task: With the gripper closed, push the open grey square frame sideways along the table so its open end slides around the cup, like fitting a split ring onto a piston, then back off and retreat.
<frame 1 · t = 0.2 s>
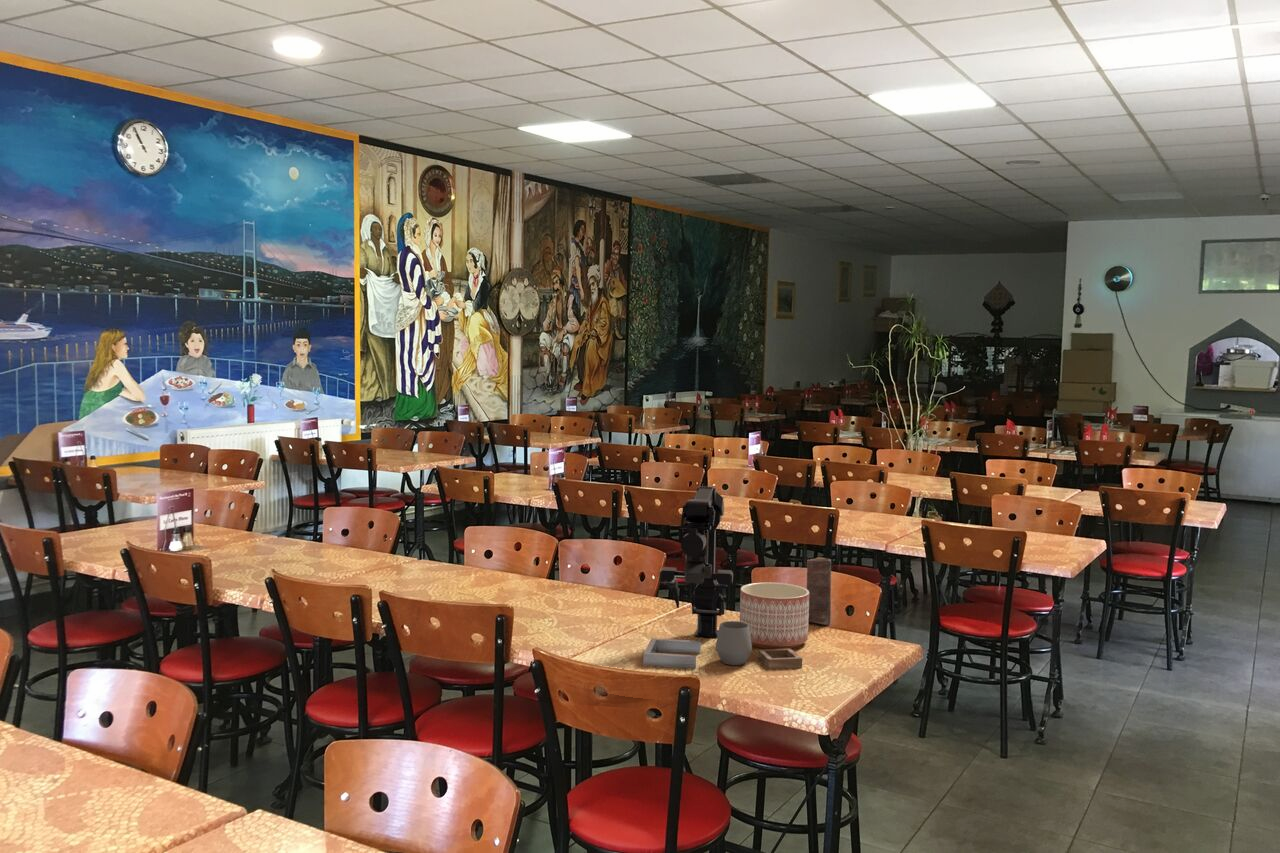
hand: (695, 608, 257), 14 cm above the table, fingers open, 9 cm apart
grey square frame: (672, 658, 262), on the table
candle: (817, 623, 301), on the table
planter: (773, 642, 280), on the table
walnut ring: (779, 663, 260), on the table
cup: (733, 663, 260), on the table
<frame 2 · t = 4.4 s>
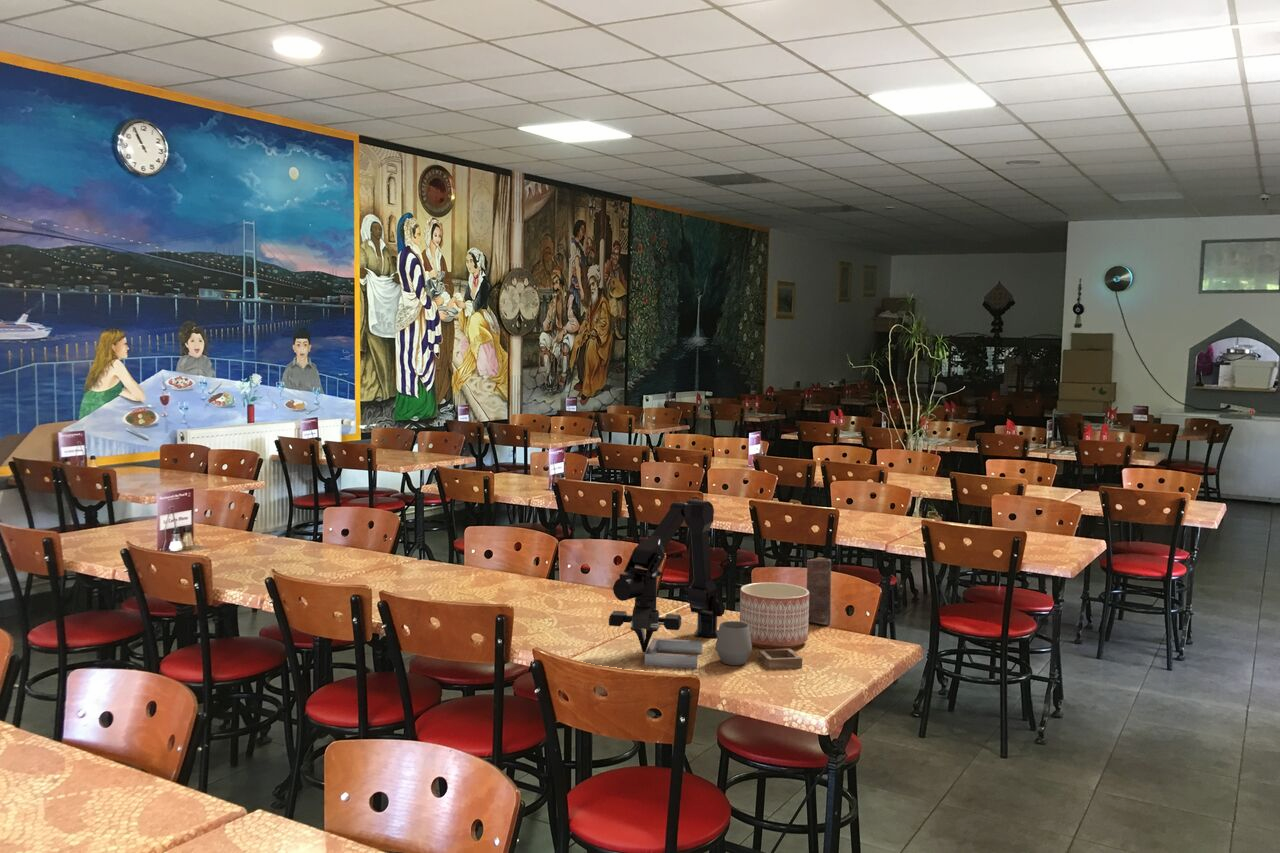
hand: (644, 652, 264), 1 cm above the table, fingers closed
grey square frame: (674, 658, 262), on the table, touching gripper
everything else where it was.
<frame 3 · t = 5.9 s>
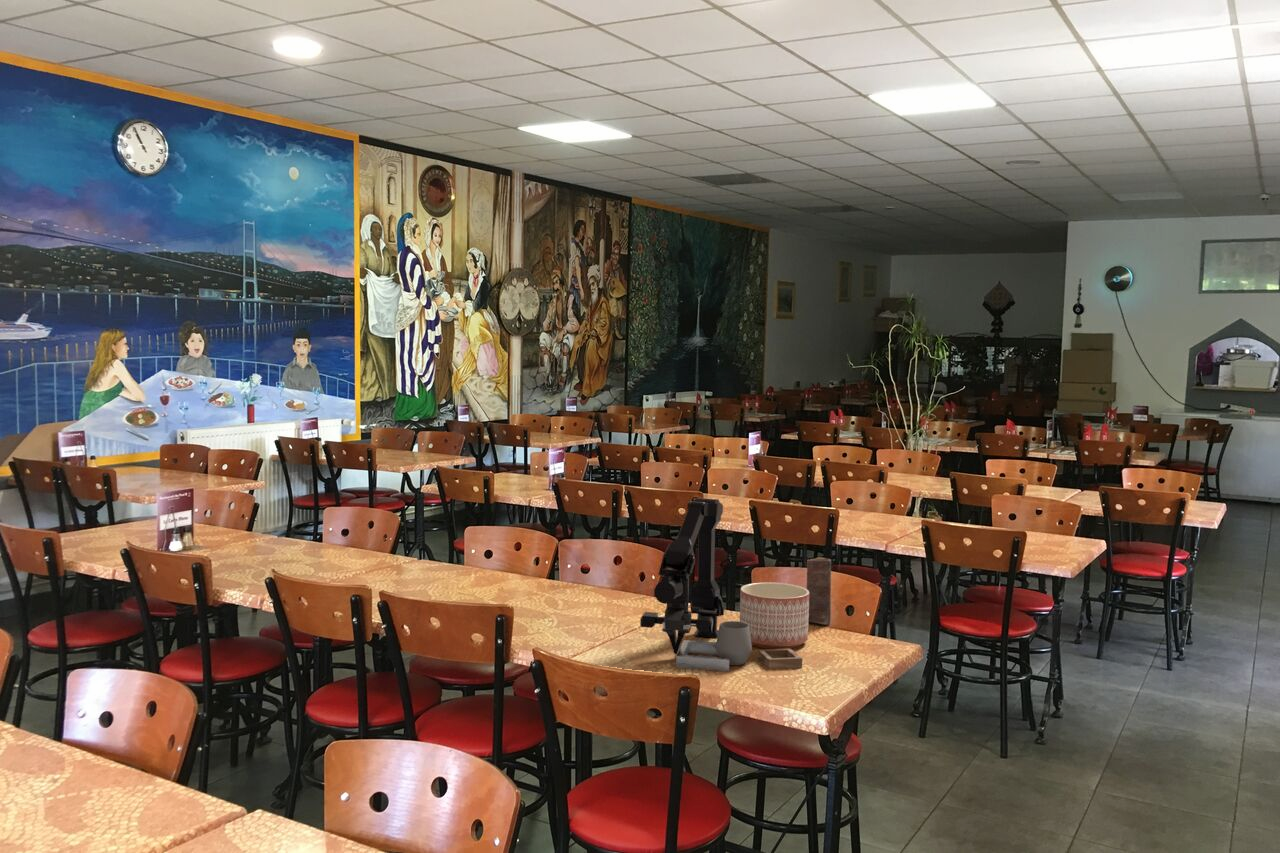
hand: (675, 653, 262), 1 cm above the table, fingers closed
grey square frame: (705, 660, 261), on the table, touching gripper
everything else where it was.
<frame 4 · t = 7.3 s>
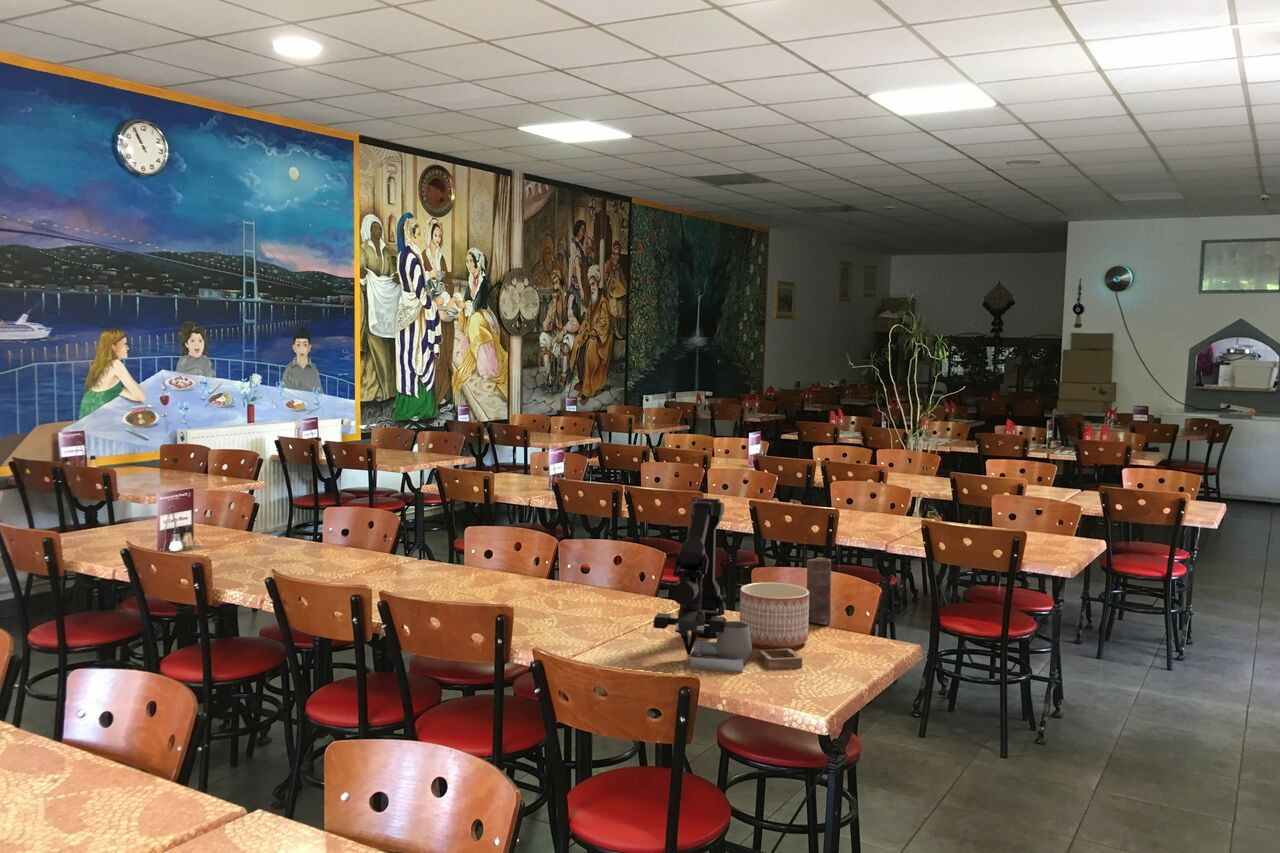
hand: (689, 654, 262), 1 cm above the table, fingers closed
grey square frame: (718, 661, 260), on the table, touching gripper
everything else where it was.
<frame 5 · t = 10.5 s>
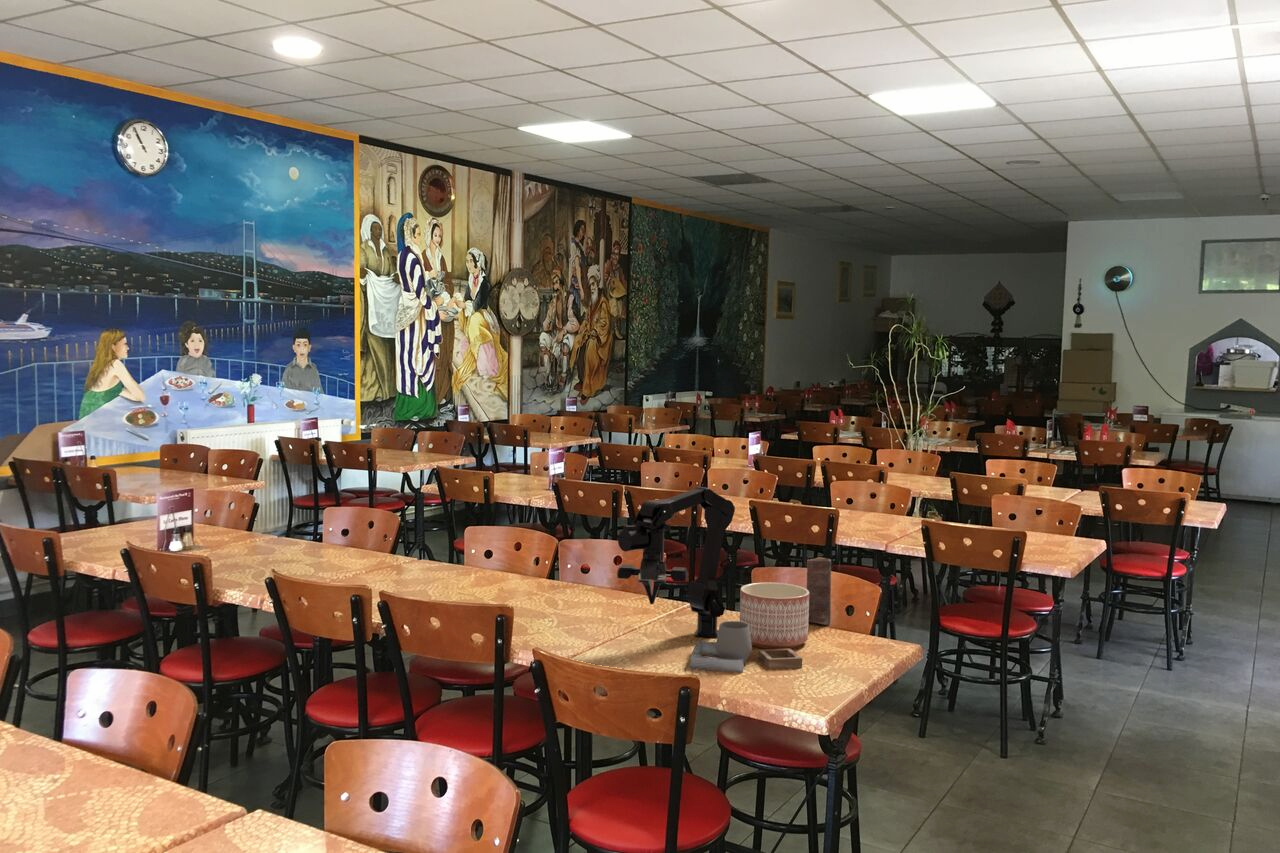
hand: (652, 604, 272), 12 cm above the table, fingers closed
grey square frame: (718, 661, 260), on the table
everything else where it was.
at the end: cup inside the target area on the grey square frame (0.8 cm from its centre), point 0.0 cm above the grey square frame's base; cup tilted 0°; grey square frame moved 12.3 cm from its start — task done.
